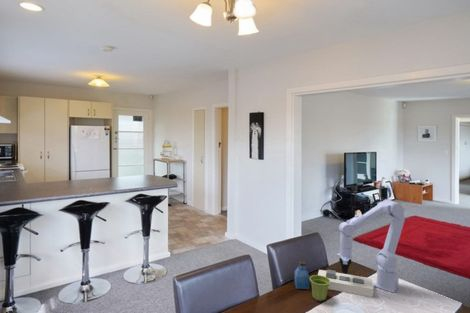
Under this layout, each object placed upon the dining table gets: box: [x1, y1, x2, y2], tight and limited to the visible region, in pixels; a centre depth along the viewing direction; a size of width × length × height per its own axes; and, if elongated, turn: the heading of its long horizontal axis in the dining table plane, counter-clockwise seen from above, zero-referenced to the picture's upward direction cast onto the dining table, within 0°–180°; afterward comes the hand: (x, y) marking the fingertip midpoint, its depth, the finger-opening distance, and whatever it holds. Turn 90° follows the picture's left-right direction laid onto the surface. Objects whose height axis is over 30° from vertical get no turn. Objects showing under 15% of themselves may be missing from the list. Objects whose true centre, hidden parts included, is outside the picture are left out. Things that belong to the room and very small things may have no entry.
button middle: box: [340, 276, 349, 282], centre depth 154 cm, size 4×4×4 cm
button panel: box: [317, 269, 374, 298], centre depth 154 cm, size 26×12×4 cm, turn 69°
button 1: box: [326, 269, 337, 279], centre depth 156 cm, size 4×4×4 cm
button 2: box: [353, 278, 363, 284], centre depth 151 cm, size 4×4×4 cm
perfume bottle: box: [293, 260, 311, 290], centre depth 153 cm, size 6×6×12 cm
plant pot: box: [309, 274, 331, 302], centre depth 142 cm, size 9×9×9 cm
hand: (344, 273), depth 153 cm, fingers closed
